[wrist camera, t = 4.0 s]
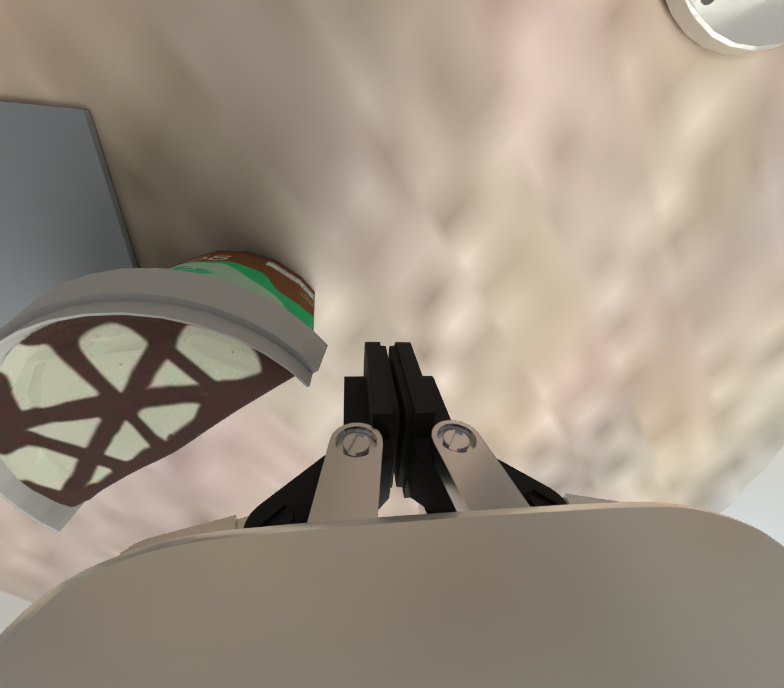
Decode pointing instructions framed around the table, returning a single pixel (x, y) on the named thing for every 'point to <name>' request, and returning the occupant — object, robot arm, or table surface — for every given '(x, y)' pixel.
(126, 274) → the food container
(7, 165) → the mat
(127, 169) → the table surface
